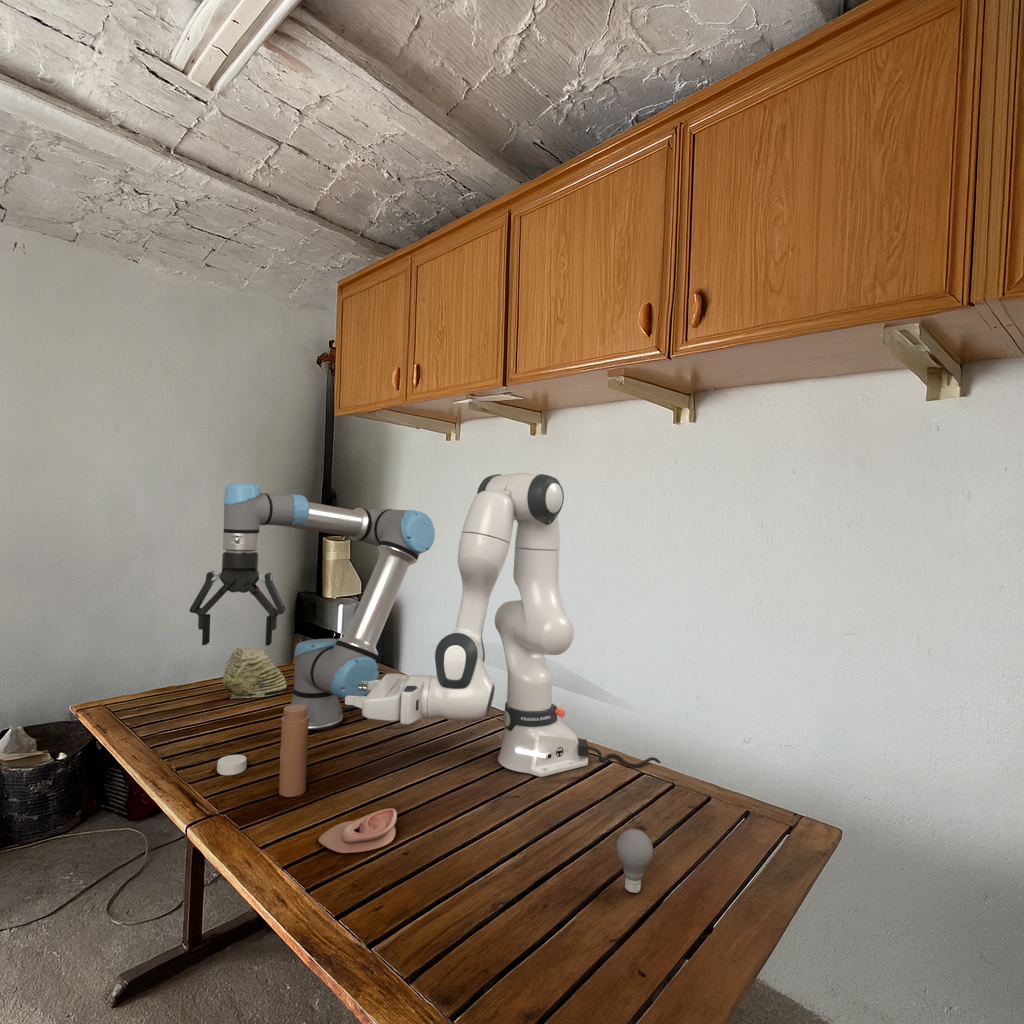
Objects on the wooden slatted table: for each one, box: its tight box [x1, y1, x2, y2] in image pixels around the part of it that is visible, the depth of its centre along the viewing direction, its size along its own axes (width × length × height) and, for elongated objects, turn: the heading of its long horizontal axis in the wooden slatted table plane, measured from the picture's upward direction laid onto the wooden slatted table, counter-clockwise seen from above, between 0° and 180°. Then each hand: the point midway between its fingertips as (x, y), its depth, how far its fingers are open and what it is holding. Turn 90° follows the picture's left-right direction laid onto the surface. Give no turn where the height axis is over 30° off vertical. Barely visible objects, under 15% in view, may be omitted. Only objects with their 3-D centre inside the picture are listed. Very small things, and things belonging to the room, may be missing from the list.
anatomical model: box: [318, 807, 398, 854], centre depth 118 cm, size 13×4×12 cm
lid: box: [216, 754, 248, 776], centre depth 145 cm, size 6×6×2 cm
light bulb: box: [615, 828, 654, 894], centre depth 106 cm, size 6×6×10 cm
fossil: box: [222, 646, 288, 699], centre depth 198 cm, size 9×18×15 cm, turn 132°
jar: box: [278, 704, 309, 798], centre depth 136 cm, size 6×6×18 cm
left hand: (237, 644), depth 145 cm, fingers open, 13 cm apart
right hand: (352, 692), depth 135 cm, fingers open, 8 cm apart
